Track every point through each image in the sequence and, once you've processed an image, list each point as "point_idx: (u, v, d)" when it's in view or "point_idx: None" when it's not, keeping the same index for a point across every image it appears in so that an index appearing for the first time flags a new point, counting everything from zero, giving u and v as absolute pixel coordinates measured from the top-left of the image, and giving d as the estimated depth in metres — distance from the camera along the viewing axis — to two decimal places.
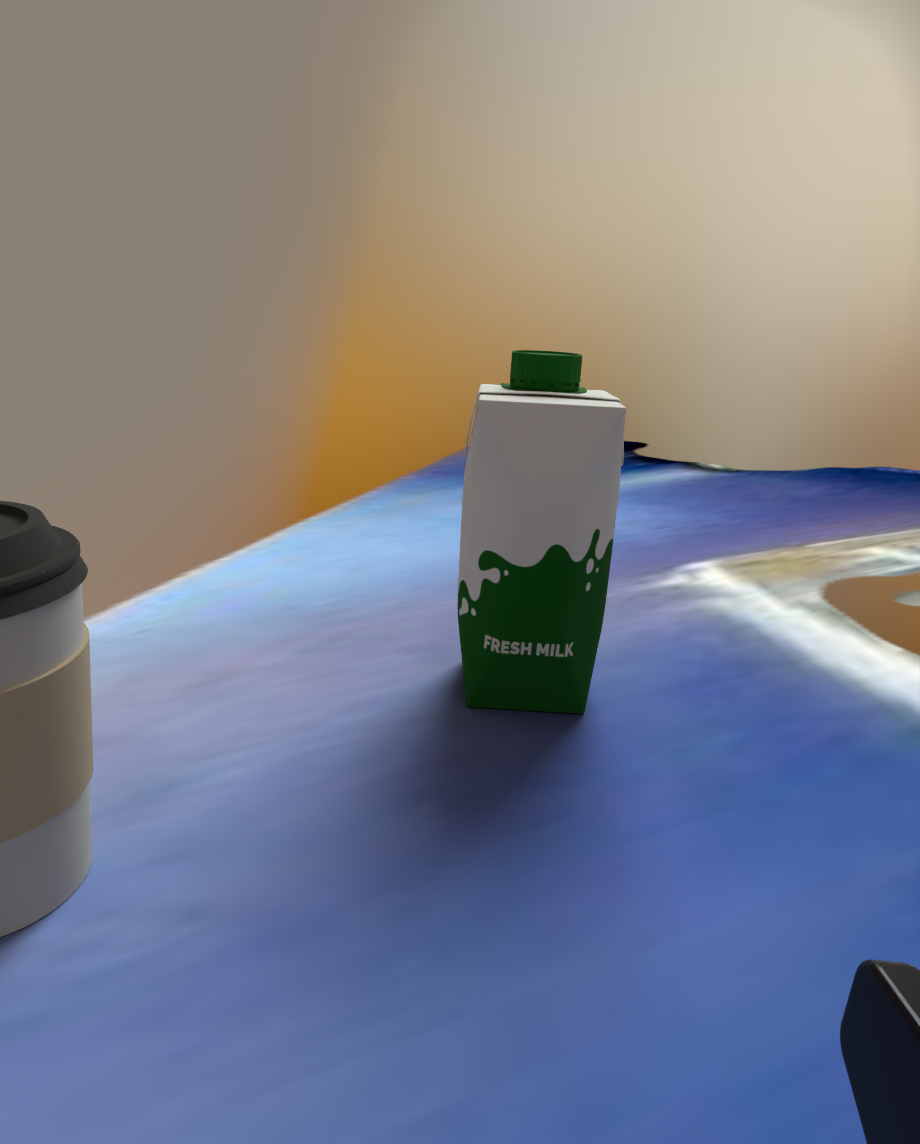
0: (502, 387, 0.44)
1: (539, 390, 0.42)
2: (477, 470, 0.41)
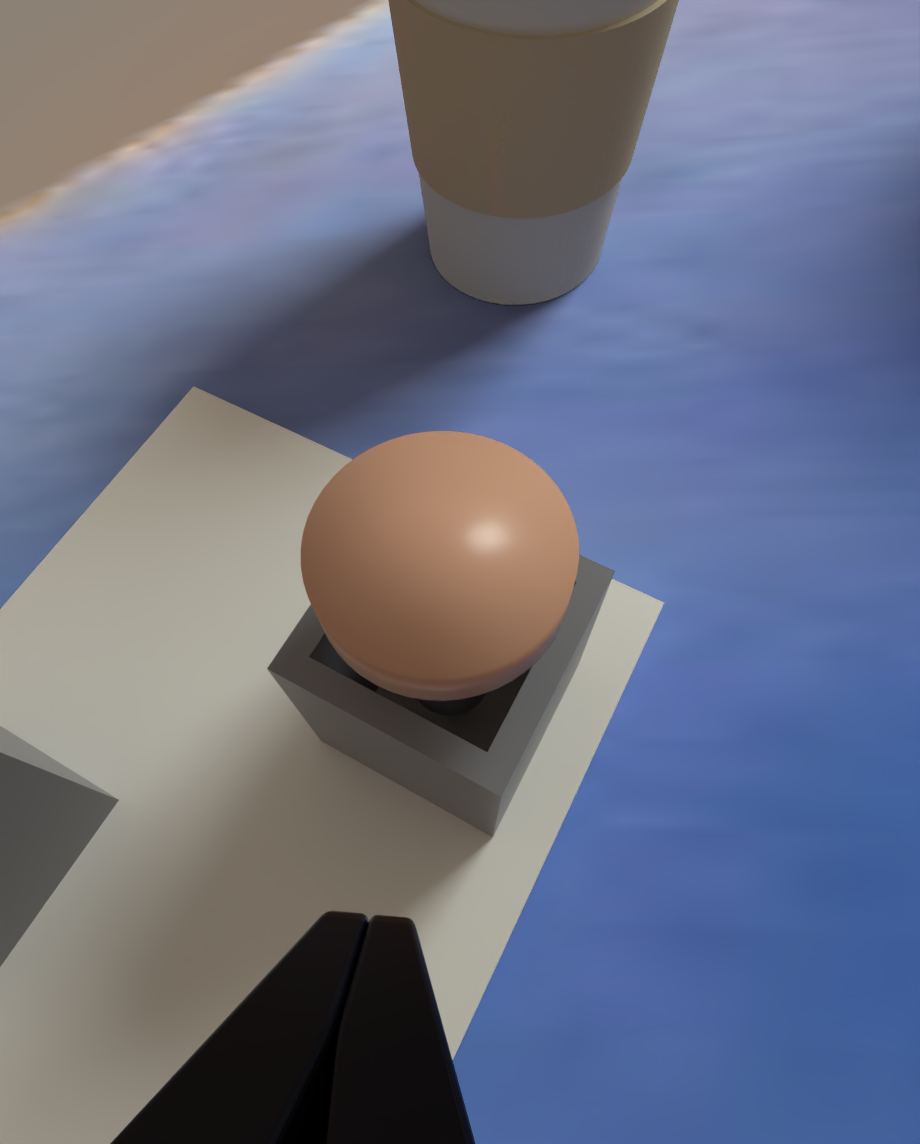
0: None
1: None
2: None
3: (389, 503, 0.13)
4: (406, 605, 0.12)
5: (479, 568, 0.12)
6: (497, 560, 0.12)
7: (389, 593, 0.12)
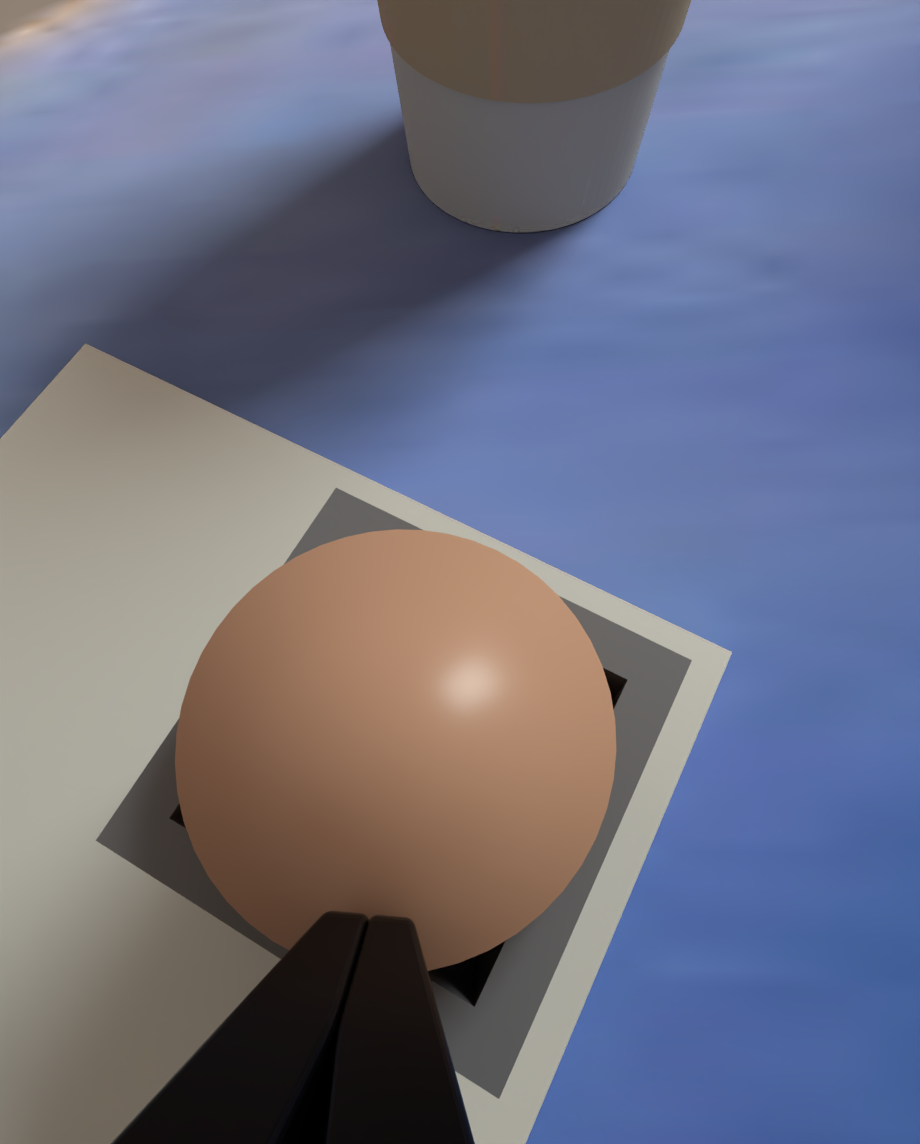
0: None
1: None
2: None
3: (318, 654, 0.08)
4: (340, 836, 0.08)
5: (457, 770, 0.08)
6: (486, 755, 0.08)
7: (313, 815, 0.08)
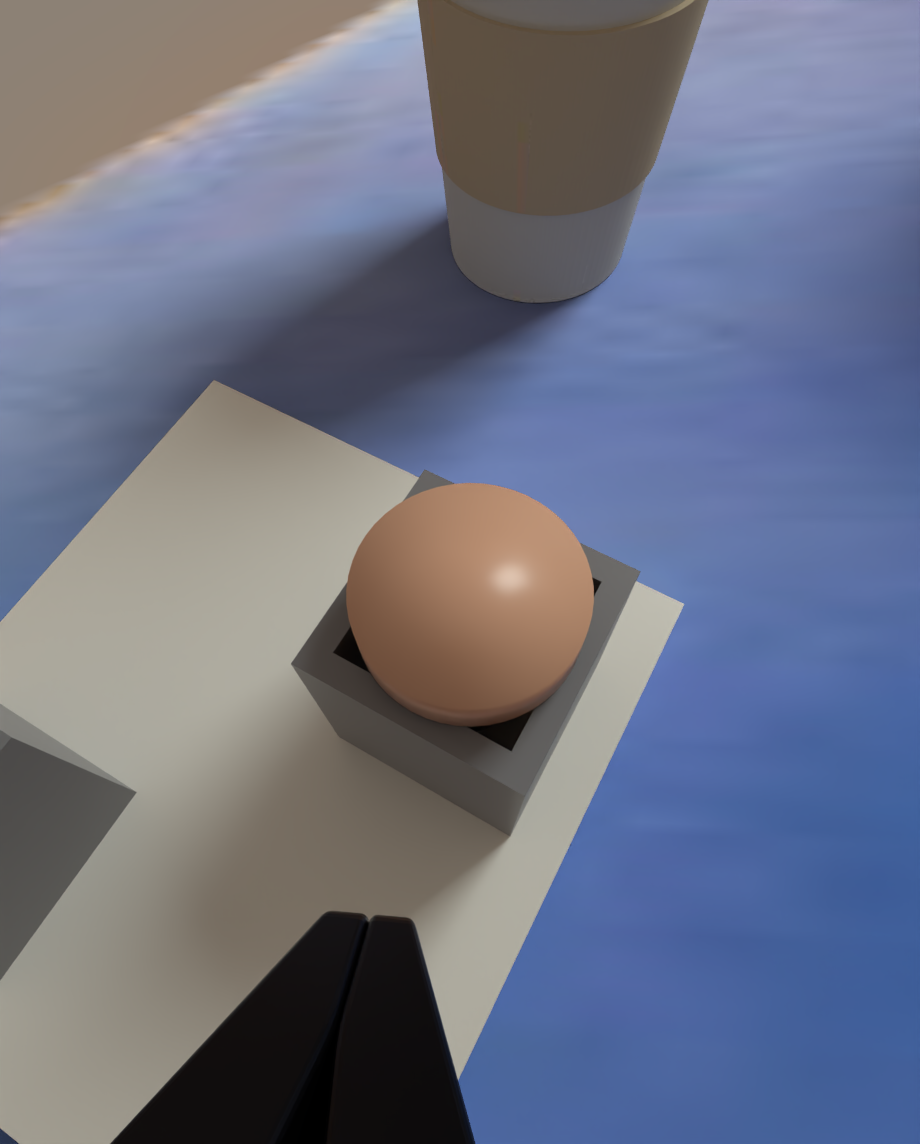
0: None
1: None
2: None
3: (425, 549, 0.15)
4: (440, 642, 0.14)
5: (505, 610, 0.14)
6: (521, 603, 0.14)
7: (425, 631, 0.14)
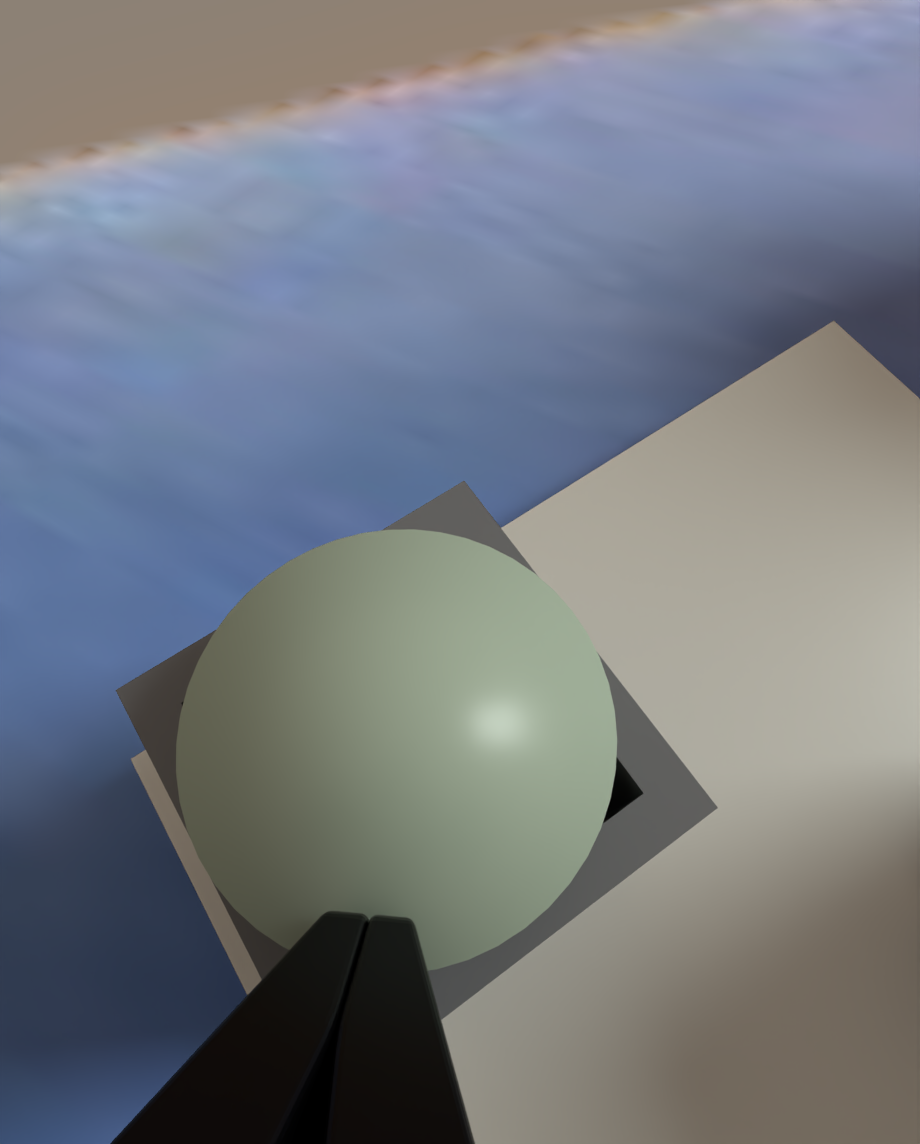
0: None
1: None
2: None
3: None
4: None
5: None
6: None
7: None
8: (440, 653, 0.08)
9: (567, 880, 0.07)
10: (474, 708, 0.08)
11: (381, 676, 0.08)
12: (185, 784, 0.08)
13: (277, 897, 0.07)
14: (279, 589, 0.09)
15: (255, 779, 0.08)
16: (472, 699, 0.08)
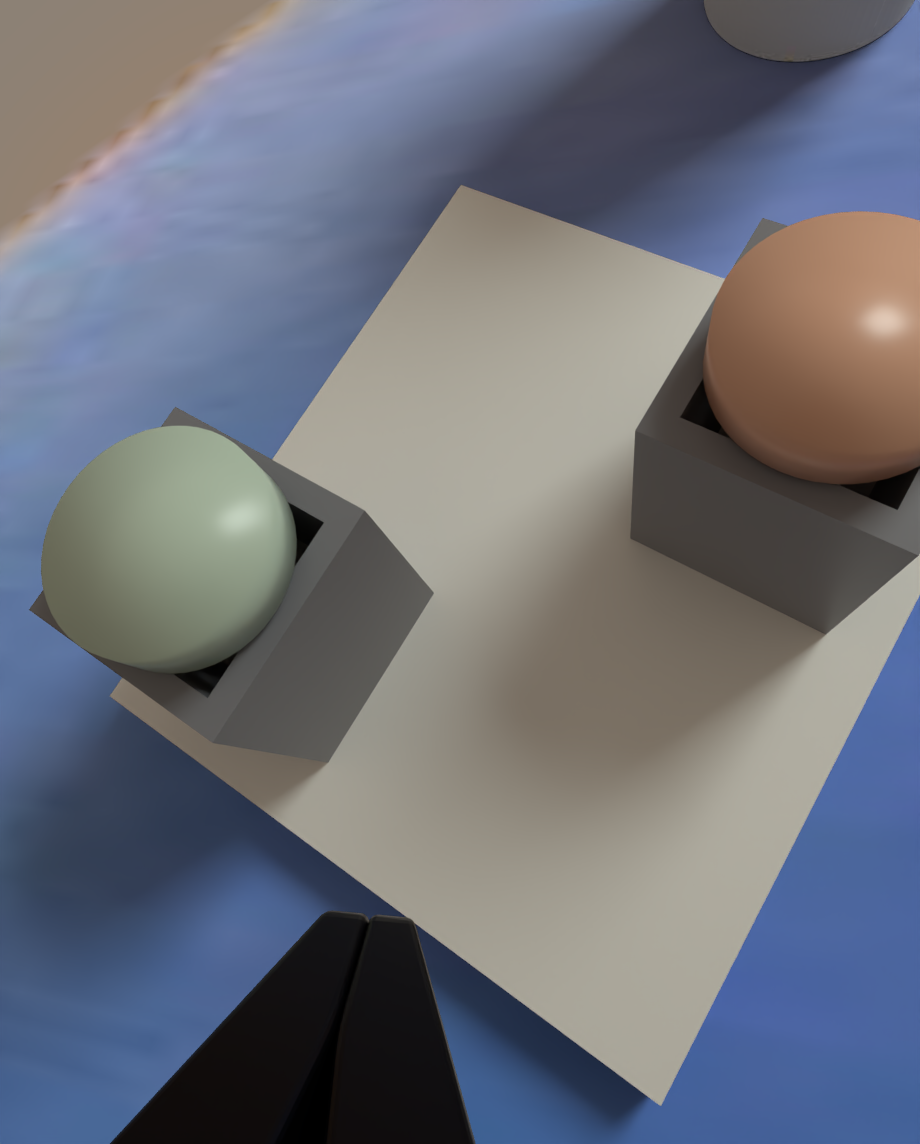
0: None
1: None
2: None
3: (796, 289, 0.13)
4: (827, 386, 0.12)
5: (902, 347, 0.12)
6: None
7: (808, 375, 0.12)
8: (163, 491, 0.14)
9: (261, 566, 0.13)
10: (189, 509, 0.14)
11: (137, 517, 0.14)
12: (58, 616, 0.14)
13: (122, 643, 0.13)
14: (69, 501, 0.15)
15: (91, 596, 0.14)
16: (187, 505, 0.14)
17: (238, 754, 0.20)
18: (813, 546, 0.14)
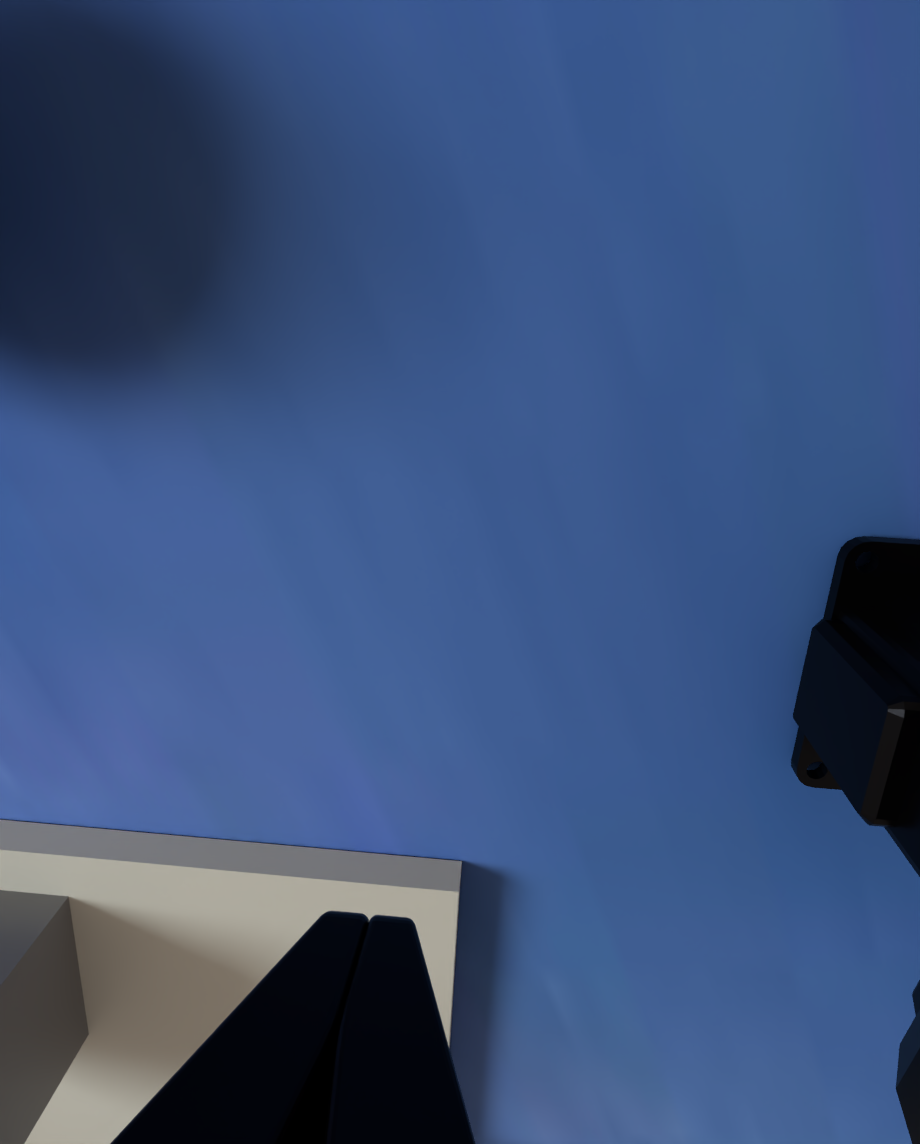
0: None
1: None
2: None
3: None
4: None
5: None
6: None
7: None
8: None
9: None
10: None
11: None
12: None
13: None
14: None
15: None
16: None
17: None
18: None
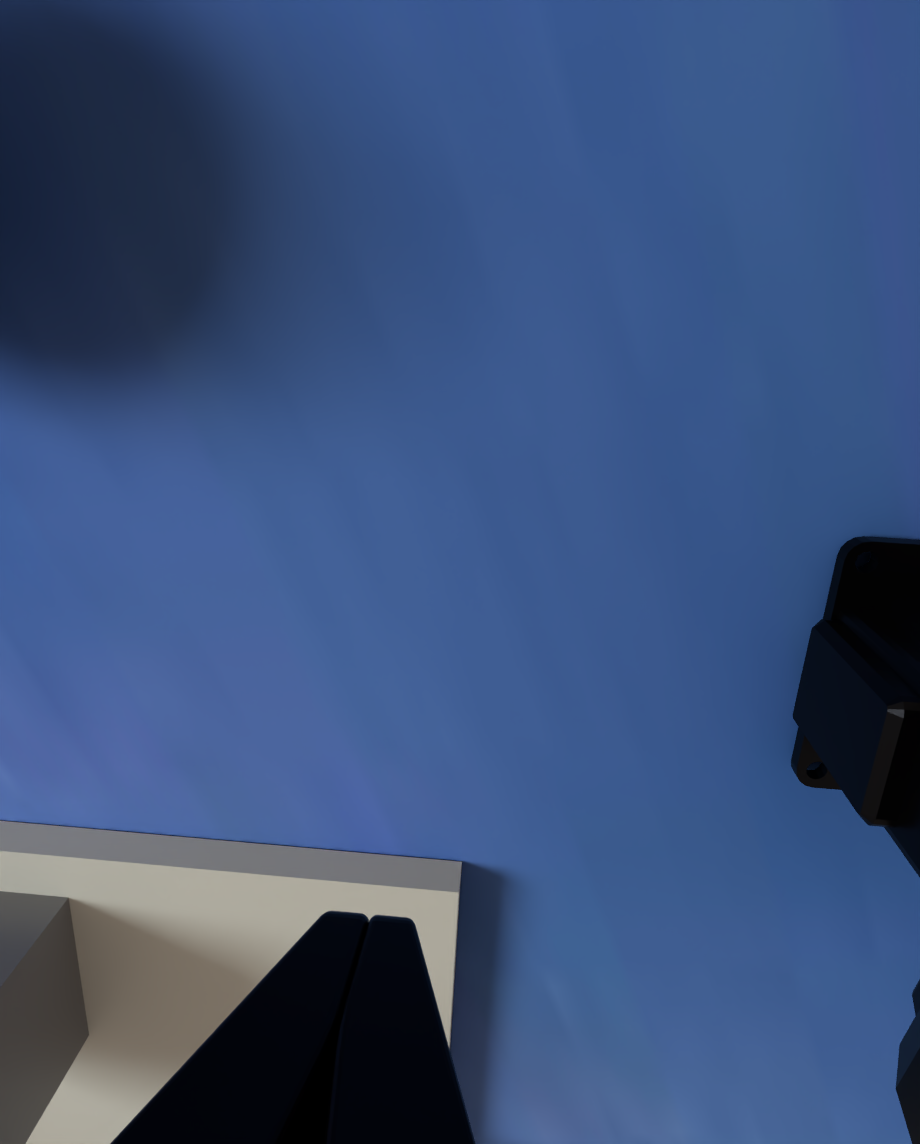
0: None
1: None
2: None
3: None
4: None
5: None
6: None
7: None
8: None
9: None
10: None
11: None
12: None
13: None
14: None
15: None
16: None
17: None
18: None
